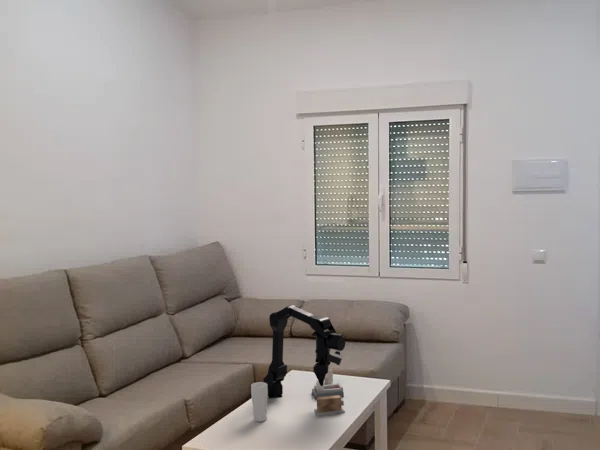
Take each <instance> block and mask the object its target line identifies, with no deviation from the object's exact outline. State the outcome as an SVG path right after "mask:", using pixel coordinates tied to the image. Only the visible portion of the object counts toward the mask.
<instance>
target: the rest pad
mask: <svg viewBox="0 0 600 450" xmlns="http://www.w3.org/2000/svg"><path fill="white" fill-rule="evenodd" d="M314 412H315V413H316V416H323V415H324V416H325V415H333V414H344V413H345V414H346V411H345V409H344V408H343V406H341V410H339V411H329V412H318V411H317V408H314Z"/></svg>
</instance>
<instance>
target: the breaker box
mask: <svg viewBox="0 0 600 450" xmlns="http://www.w3.org/2000/svg"><path fill="white" fill-rule="evenodd" d="M311 394H312V396H313V397H314V399H315V400H317V397H325V396H336V395H339V396H340V397H341V398H344V396H345V395H344V394H345V393H344V386H342V384H341V383H340V382H336V384H332V383H331V384H330V385H325V384H324V390H316V385H314V386H313V388H311Z"/></svg>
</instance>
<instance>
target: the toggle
mask: <svg viewBox="0 0 600 450" xmlns="http://www.w3.org/2000/svg"><path fill="white" fill-rule="evenodd" d="M324 385H325V382H324V383H323V386H320V384H319V381H318V380H316V381H315V386H316V390H324Z"/></svg>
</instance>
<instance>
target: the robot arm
mask: <svg viewBox="0 0 600 450" xmlns="http://www.w3.org/2000/svg"><path fill="white" fill-rule="evenodd" d="M291 317H292V318H294V319H296V320H299V321H301V322H303V323H305V324H307V325H308V326H310V329H312V330H313V331H314V332H312V333H311V336H312V337H315V350H314V351H315V364H314V365H313V367H312V370H313V373H314V374H315V377H316V378H317V381H319V384H320V386H323V383H324V384H325V376H326V374H327V373H328V371H329V369H330V368H329V367H330V365H331V363H333V364H335V365H336V366H340V365H341V363H342V360H343V355H342V354H341V352H343V350H344V349H345V346H346V340H345V337H343V334H341V333H337V331H336V329H335V327H334V325H333V324H332V322H331V319H330V318H329V317H327V316H323V315H316V314H313V313H310V312H308V311H306V310H305V309H302V308H299V307H297V306H296V305H295V304H291V305H287V306H285V307H284V308H282V309H280V310H278V311H274V312H272V313H270V315H269V317H268V319H269V326H270V328H271V330H272V350H271V351H272V352H271V362H270V364H269V366H268V369H267V374H266V375H265V376H264V377H263V382H264V383H267V389H268V396H267V399H268V398H270V399H271V398H280V397H283V394H284V392H283V390H284V389H283V388H284V387H283V384H282V382H283V381H285V377H286V376H287V374H288V365H287V364H285V363H284V359H283V357H284V337H285V335H284V334H285V333H284V331H285V329H286V327H287V325H288V320H289V319H290V318H291ZM331 350H334V351H331Z"/></svg>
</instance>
